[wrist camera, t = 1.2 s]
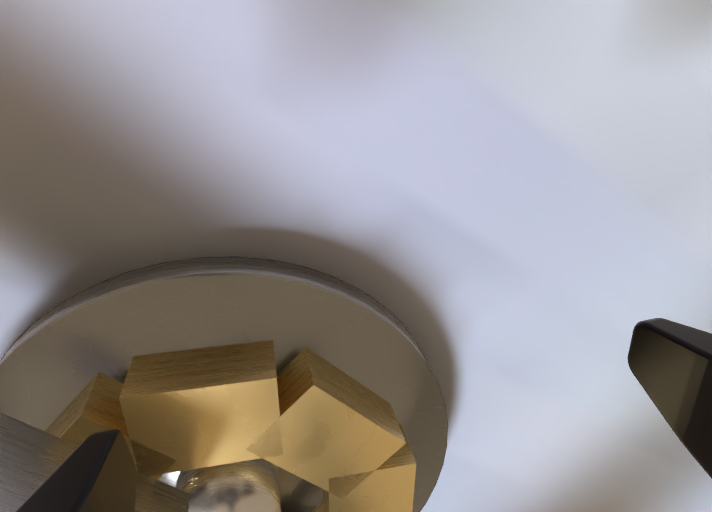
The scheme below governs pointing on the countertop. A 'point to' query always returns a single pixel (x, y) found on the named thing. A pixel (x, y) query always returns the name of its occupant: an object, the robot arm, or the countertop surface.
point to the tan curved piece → (226, 428)
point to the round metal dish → (219, 328)
